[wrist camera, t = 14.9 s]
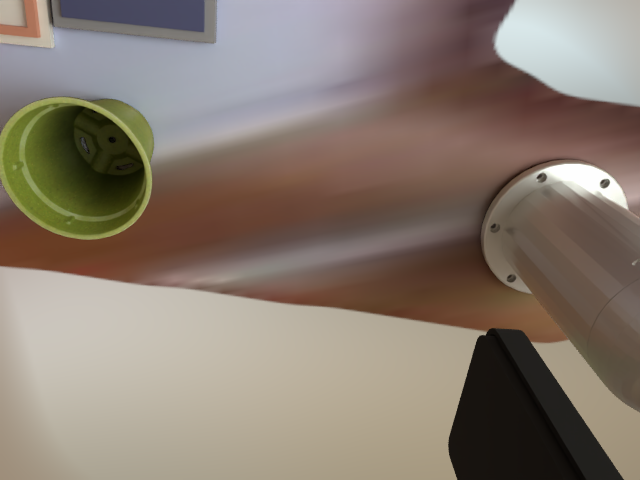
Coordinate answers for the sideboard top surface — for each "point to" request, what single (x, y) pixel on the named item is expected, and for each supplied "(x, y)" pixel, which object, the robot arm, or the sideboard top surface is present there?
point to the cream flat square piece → (26, 23)
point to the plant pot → (78, 165)
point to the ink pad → (141, 17)
